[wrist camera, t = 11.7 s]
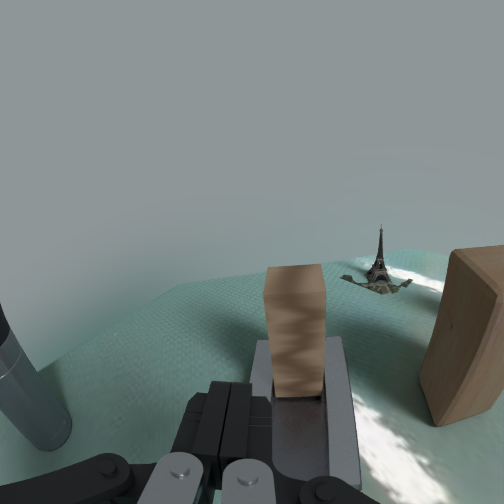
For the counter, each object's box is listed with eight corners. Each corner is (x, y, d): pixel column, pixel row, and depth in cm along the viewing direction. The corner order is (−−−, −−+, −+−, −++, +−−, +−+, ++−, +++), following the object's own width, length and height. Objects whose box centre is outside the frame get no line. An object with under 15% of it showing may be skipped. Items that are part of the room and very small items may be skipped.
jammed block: (275, 397, 33) (263, 294, 27) (278, 365, 38) (268, 267, 32) (322, 395, 32) (326, 291, 26) (319, 363, 37) (320, 263, 31)
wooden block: (415, 377, 32) (447, 246, 24) (468, 364, 30) (506, 241, 22) (433, 431, 22) (498, 293, 15) (491, 410, 21) (556, 279, 13)
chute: (228, 492, 21) (222, 485, 20) (255, 353, 43) (253, 340, 42) (360, 490, 19) (366, 482, 18) (343, 349, 40) (344, 335, 39)
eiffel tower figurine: (338, 279, 62) (337, 224, 57) (362, 264, 67) (363, 213, 62) (393, 301, 50) (400, 239, 45) (413, 281, 55) (419, 225, 50)
